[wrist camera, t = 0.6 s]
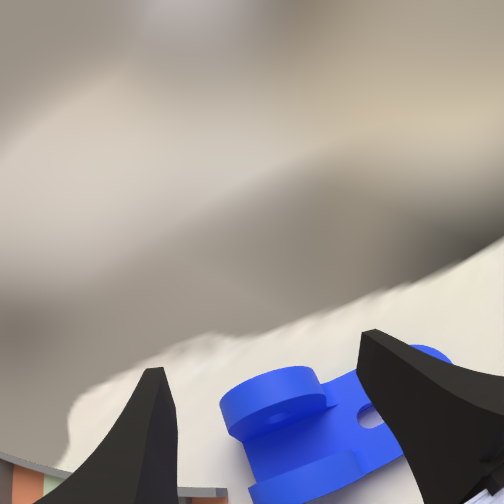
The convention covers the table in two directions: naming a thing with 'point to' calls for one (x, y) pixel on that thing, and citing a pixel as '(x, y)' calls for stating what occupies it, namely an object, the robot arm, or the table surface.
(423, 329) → the table surface
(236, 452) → the table surface
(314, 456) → the bracket
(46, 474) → the box
